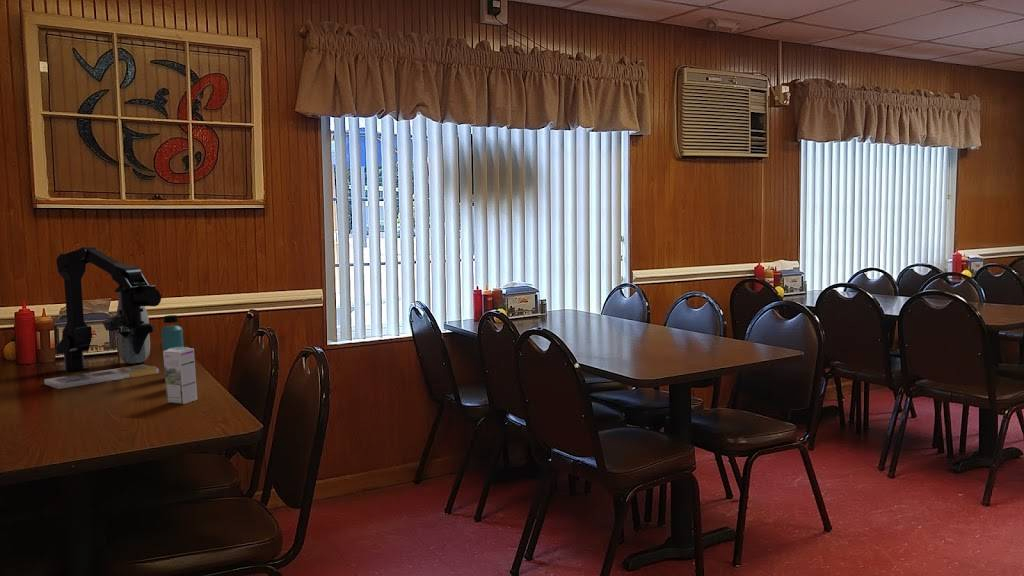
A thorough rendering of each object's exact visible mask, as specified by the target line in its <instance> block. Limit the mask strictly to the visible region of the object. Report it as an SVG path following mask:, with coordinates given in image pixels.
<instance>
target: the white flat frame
mask: <svg viewBox="0 0 1024 576" xmlns="http://www.w3.org/2000/svg"><path fill="white" fill-rule="evenodd" d="M159 373H160V370H159V367H157V366H156V365H154V366H152V365H151V366H150V365H146V364H137V365H132V366H125V367H119V368H112V369H105V370H98V371H91V372H86V373H79V374H73V375H72V374H71V375H66V376H59V377H53V378H52V377H51V378H45V379H44V385H45V386H49V387H51V388H54V389H56V390H61V389H67V388H75V387H79V386H85V385H86V386H87V385H91V384H97V383H98V384H99V383H104V382H111V381H117V380H123V379H128V378H138V377H143V376H144V377H145V376H151V375H156V374H159Z"/></svg>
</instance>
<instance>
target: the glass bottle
mask: <svg viewBox="0 0 1024 576" xmlns="http://www.w3.org/2000/svg"><path fill="white" fill-rule="evenodd" d="M117 297H118V298H117V299H118V301H117V310H116V314H115V316H116V315H118V311H119V309H121V298H120V292H117ZM141 308H142V309H143V312H141V321H144V323H148V324H150V319H149V314H148V311H147V309H146V306H141ZM116 332H119V329H118V330H117V331H115V333H116ZM150 334H151V333H149V334H148V335H147V337H146V339H145V342H144V345H145V360H147V359H148V358H149V356H150V352H151V337H150V336H151V335H150ZM116 339H117V341H116V342H117V350H118V354H119V358H120V359H121V360H122V361H123V347H122V336H121V335H119V334H118V333H116ZM123 362H124V363H126V364H130V365H132V364H133V365H134V364H137V365H138V364H140V363H143V362H144V361H139V362H132V363H129V362H125V361H123Z"/></svg>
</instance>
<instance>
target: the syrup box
mask: <svg viewBox="0 0 1024 576" xmlns="http://www.w3.org/2000/svg"><path fill="white" fill-rule="evenodd" d="M163 356H164V362H163V366H164V368H163V370H164V369H165V374H164V381H165V393H166V394H165V396H166V404H175V405H176V404H177V405H185V404H190V403H193V402H195V401H197V400H198V390H197V389H198V388H197V377H196V375H197V374H196V373H197V372H196V360H195V358H196V357H195V349H194V347H193V348H192V347H191V348H190V347H189V348H172V349H168V350H165V351H163V350H162V357H163ZM192 401H193V402H192Z"/></svg>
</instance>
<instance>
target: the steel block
mask: <svg viewBox="0 0 1024 576" xmlns="http://www.w3.org/2000/svg"><path fill="white" fill-rule="evenodd" d="M122 347H123V360H122V361H123V362H124V361H125V362H124V363H126V362H129V363H132V362H139V361H143V362H145V361H146V360H147V359H146V360H145V345H144V344H143V346H142V348H141V351H140V353H139V354H135V350H134V346H133V341H132V338H131V337H130V336H127V337H122ZM129 363H128V364H129Z"/></svg>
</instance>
